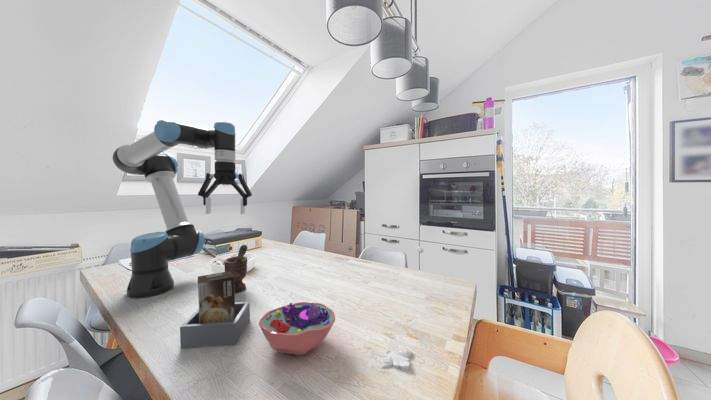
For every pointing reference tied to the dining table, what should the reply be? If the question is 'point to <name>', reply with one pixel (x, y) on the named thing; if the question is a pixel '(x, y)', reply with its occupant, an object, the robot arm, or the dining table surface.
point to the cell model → (297, 327)
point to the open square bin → (214, 329)
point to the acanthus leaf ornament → (397, 359)
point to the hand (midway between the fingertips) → (225, 213)
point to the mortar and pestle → (238, 268)
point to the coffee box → (216, 298)
